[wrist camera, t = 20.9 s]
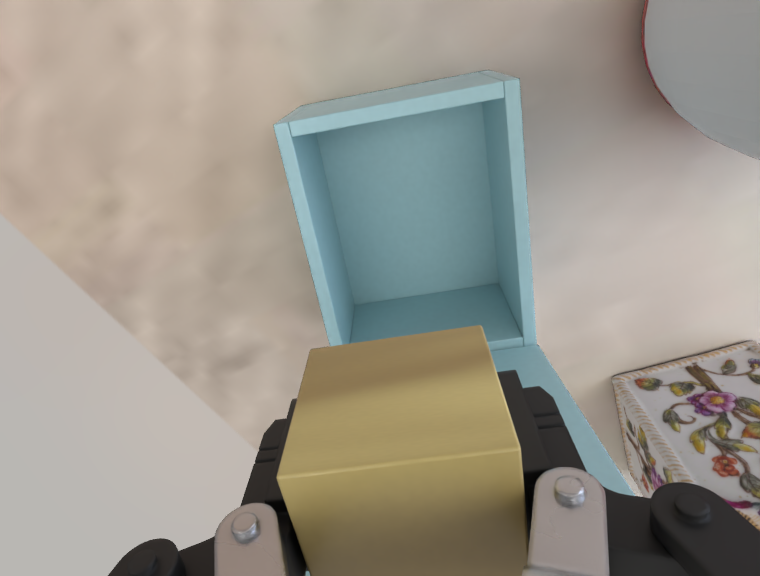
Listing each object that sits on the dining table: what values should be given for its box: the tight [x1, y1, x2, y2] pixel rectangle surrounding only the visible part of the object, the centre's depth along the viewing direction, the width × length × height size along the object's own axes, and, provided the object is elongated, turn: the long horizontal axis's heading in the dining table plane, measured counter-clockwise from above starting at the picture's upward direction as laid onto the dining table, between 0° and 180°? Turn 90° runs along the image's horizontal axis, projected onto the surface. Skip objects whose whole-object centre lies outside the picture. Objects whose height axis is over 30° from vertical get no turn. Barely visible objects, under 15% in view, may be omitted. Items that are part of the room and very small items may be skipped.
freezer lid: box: [305, 345, 635, 576], centre depth 25 cm, size 16×13×5 cm
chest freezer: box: [273, 70, 537, 351], centre depth 34 cm, size 16×13×9 cm
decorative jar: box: [612, 341, 760, 531], centre depth 37 cm, size 12×12×18 cm
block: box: [277, 325, 529, 576], centre depth 12 cm, size 4×4×4 cm
